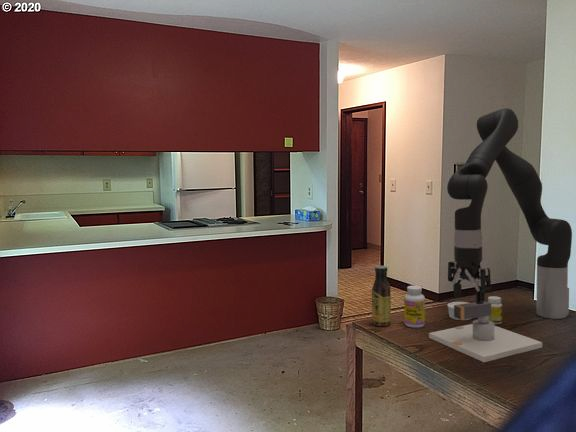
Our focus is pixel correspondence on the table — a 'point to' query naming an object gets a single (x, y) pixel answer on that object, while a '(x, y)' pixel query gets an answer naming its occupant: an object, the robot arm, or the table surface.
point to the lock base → (485, 341)
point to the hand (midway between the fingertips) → (468, 300)
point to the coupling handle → (473, 311)
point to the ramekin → (451, 309)
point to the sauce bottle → (381, 298)
